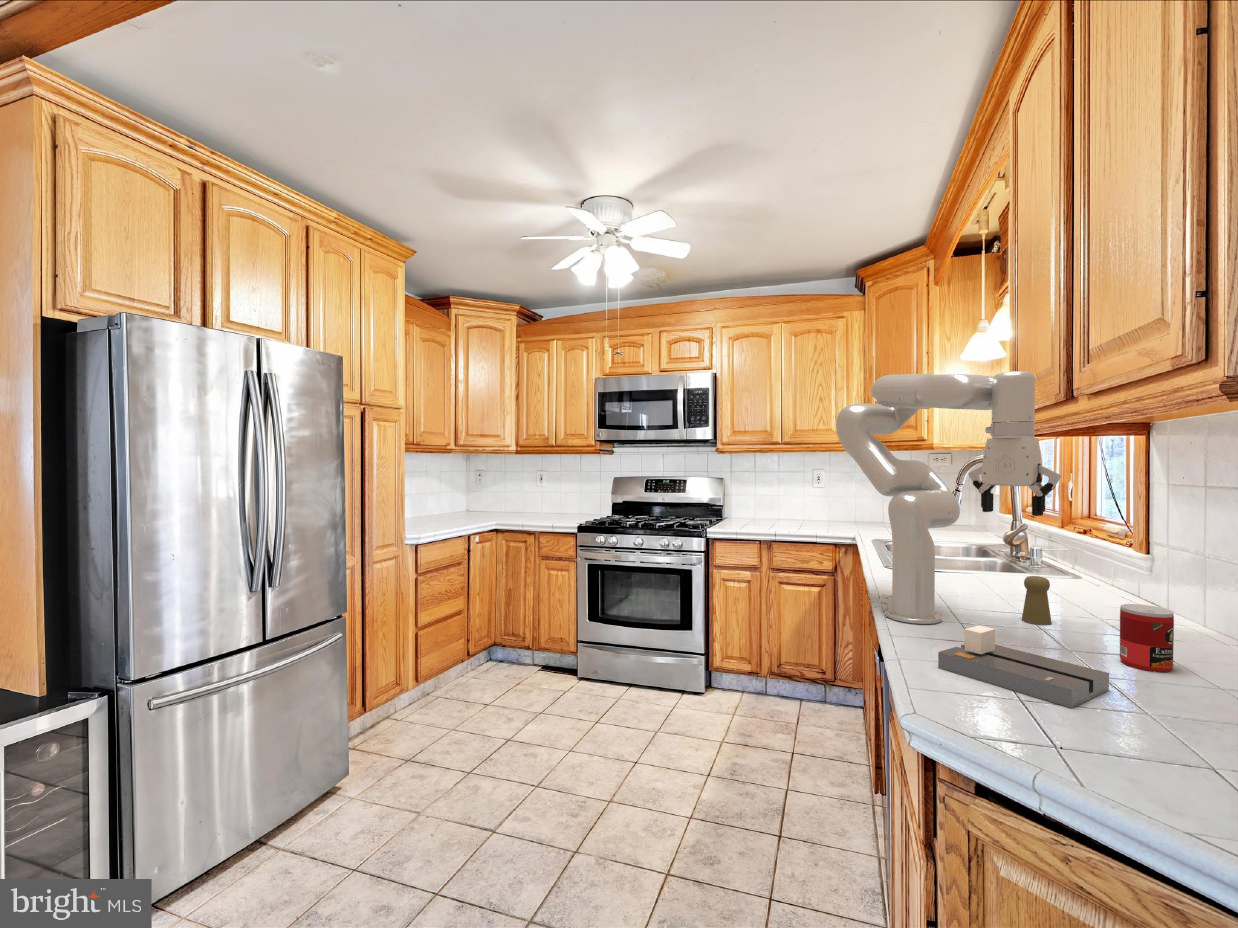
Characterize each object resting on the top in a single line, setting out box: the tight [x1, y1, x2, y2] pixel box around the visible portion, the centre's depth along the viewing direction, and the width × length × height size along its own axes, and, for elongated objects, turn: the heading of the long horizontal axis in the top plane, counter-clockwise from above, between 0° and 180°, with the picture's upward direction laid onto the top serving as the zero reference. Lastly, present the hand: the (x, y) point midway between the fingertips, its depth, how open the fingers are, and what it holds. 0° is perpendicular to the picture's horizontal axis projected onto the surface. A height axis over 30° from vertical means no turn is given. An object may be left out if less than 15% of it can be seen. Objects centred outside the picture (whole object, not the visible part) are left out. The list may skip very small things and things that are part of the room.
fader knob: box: [964, 625, 996, 654], centre depth 117 cm, size 3×5×6 cm, turn 122°
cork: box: [1021, 575, 1052, 626], centre depth 148 cm, size 6×6×11 cm
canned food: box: [1119, 603, 1175, 673], centre depth 117 cm, size 8×8×11 cm
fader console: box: [937, 643, 1110, 709], centre depth 111 cm, size 22×14×3 cm, turn 32°
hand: (1011, 513), depth 127 cm, fingers open, 9 cm apart
